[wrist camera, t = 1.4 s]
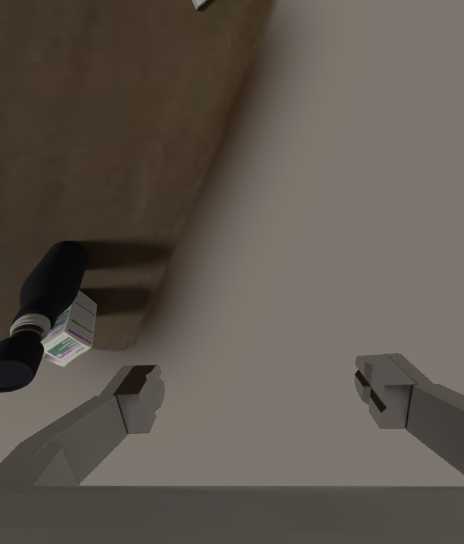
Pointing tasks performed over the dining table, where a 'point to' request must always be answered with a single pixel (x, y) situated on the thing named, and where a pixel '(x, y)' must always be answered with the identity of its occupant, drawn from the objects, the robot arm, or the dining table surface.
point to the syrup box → (71, 332)
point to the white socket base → (198, 3)
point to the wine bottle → (40, 312)
